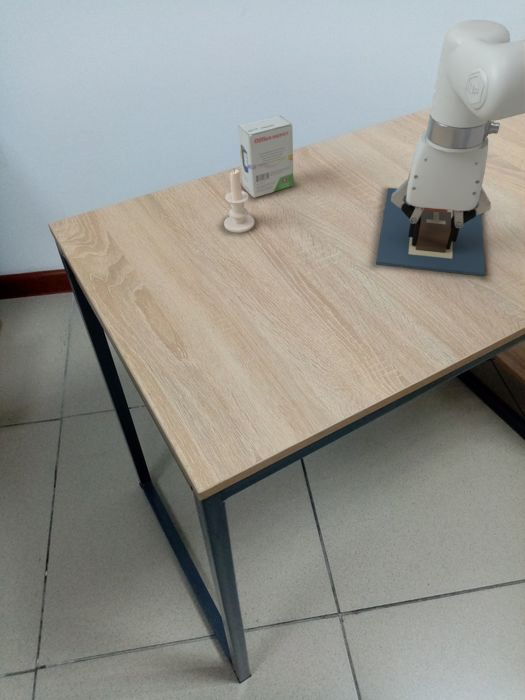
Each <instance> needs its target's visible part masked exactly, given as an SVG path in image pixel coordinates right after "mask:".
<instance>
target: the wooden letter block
mask: <svg viewBox="0 0 525 700" xmlns="http://www.w3.org/2000/svg"><path fill="white" fill-rule="evenodd" d="M450 232H451V212H443V211H432V210H423V212H422V214H421V219H420V228H419V233H418V238H417V243H416V250H421V251H431V252H440V253H445V251H446V247H447V243H448V240H449V236H450Z"/></svg>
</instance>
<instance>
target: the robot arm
mask: <svg viewBox="0 0 525 700" xmlns="http://www.w3.org/2000/svg"><path fill="white" fill-rule="evenodd" d="M441 48H442V49H441V54H440V58H439V63H438V69H437V74H436V80H435V84H434V90H433V91H434V92H433V96H432V101H431V106H430V113H429V117H428V122H427V128H426V130H424V131H422V132H421V133H420V135H419V137H418V140H417V143H416V146H415V148H414V151H413V156H412V160H411V164H410V168H409V171H408V172H409V173H408V178H407V179H406V180H405V181H404V182H403V183H402V184H401V185H400V186H399V187H397V188H396V189H397V190H396V191H395V192H394V193H393V194H392V196H391V202H392V203H394V204H395V205H396V206H397V207H399V208H401V210H402V211H403V213H404V214H405V215H406V216H407V217H408V218H409V219H410V222H411V223H410V228H409V234H408V237H411V238H412V245H413V246H415V245H416V243H417V238H418V233H419V228H420V219H421V214H422V212H423V210H424V208H434V209H445V210H454V216H453V217H452V218H451V232H450V236H449V240H448V243H447V247H446V249H450V247H451V243H452V242H456V240H457V236H458V232H459V229H460V228H461V227H462V226H463V224H464V223H466V222H468V221H469V220H471V219H473V218H474V217H475V216H476V215H479V214H481V215H482V214H484V213H486V212H489V211H490V210H491V208H492V205H491V201H490V199H489V196H488V195H487V193H486V192H485V190H484V187H483V182H484V179H485V173H486V168H487V167H486V165H487V159H488V151H489V137H488V136H489V135H492V134H496V135H497V134H498V133H499V131H500V122H495V121H499V120H504V119H508V118H512V117H516V116H520V115H523V114H525V39H522V40H517V41H511V33H510V31H509V30H508V28H507V27H506V26H504V25H503V24H501V23H500V22H496V21H492V20H486V19H469V20H464V21H460V22H457V23H455V24H453V25H452V26H451V27H450V28H449V29H448V30H447V31H446V33H445V36H444V38H443V42H442V47H441ZM405 195H407V196H406V199H405V198H404V196H405Z"/></svg>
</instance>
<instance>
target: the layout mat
mask: <svg viewBox="0 0 525 700" xmlns="http://www.w3.org/2000/svg"><path fill="white" fill-rule="evenodd" d="M397 189H398V188H396V187H387V191H386V197H385V204H384V210H383V216H382V223H381V229H380V235H379V243H378V248H377V255H376V261H375V265H378V266H387V267H398V268H406V269H415V270H422V271H431V272H432V271H434V272H442V273H450V274H451V273H452V274H461V275H468V276H470V275H471V276H476V277H477V276H478V277H485V274H486V268H485V267H486V266H485V253H484V252H485V250H484V236H483V220H482V214H479V215H476V216H475V217H474V218H473V219H471V220H469V221H468V222H466V223H464V224H463V226H462V227H461V228H460V229H459V232H458V236H457V240H456V242H452V243H451V247H450V249H446V251H445V253H440V252H431V251H421V250H416V245H415V246H413V245H412V238H411V237H408V234H409V228H410V223H411V222H410V219H409V218H408V217H407V216H406V215H405V214H404V213H403V211H402V210H401V208H399V207H397V206H396V205H395V204H394V203H392V202H391V196H392V194H393V193H394V192H395V191H396V190H397ZM406 196H407V195H405V196H404V198H405V199H406ZM447 212H451V218H452V217H453V216H454V210H447Z"/></svg>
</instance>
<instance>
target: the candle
mask: <svg viewBox="0 0 525 700" xmlns="http://www.w3.org/2000/svg"><path fill="white" fill-rule="evenodd" d="M229 179H230V180H229V181H230V192H228V193H226V194H225V197H224V198H225V200H226V202H228V203H230V207H231V209H230V210H229V211H228V216H227V217H226V218H225V220H224V222H223V225H224V228H225V229H226V230H227V231H229V232H231V233H236V234H241V233H246V232H248V231H250V230H251V229H253V228H254V226H255V218H254V217H253V216H252V215H250V214H249V211H248V209H247V208H246V207H245V202H246V201H247V200H248V199H249V195H250V194H249V193H248V192H247V191H244V190H242V185H241V184H242V183H241V175H240V170H239V169H235V168H233V170H231V171H230V172H229Z"/></svg>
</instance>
